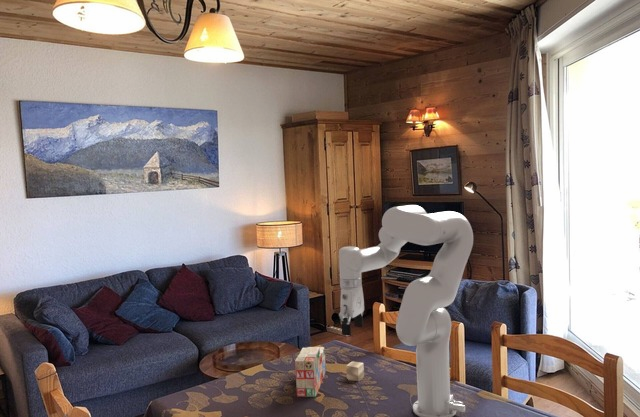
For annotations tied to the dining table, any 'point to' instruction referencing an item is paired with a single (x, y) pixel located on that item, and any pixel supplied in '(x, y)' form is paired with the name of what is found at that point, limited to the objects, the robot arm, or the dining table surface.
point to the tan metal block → (355, 371)
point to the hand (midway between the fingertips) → (352, 330)
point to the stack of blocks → (309, 371)
